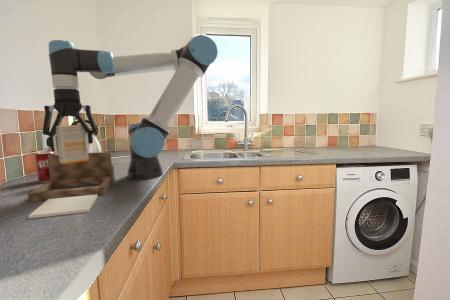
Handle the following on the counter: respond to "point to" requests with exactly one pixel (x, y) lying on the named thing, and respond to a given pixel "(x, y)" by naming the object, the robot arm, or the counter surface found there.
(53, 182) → the walnut case
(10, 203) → the counter surface
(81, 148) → the supplement box
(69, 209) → the off-white pad
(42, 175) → the soda can
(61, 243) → the counter surface
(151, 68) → the robot arm
